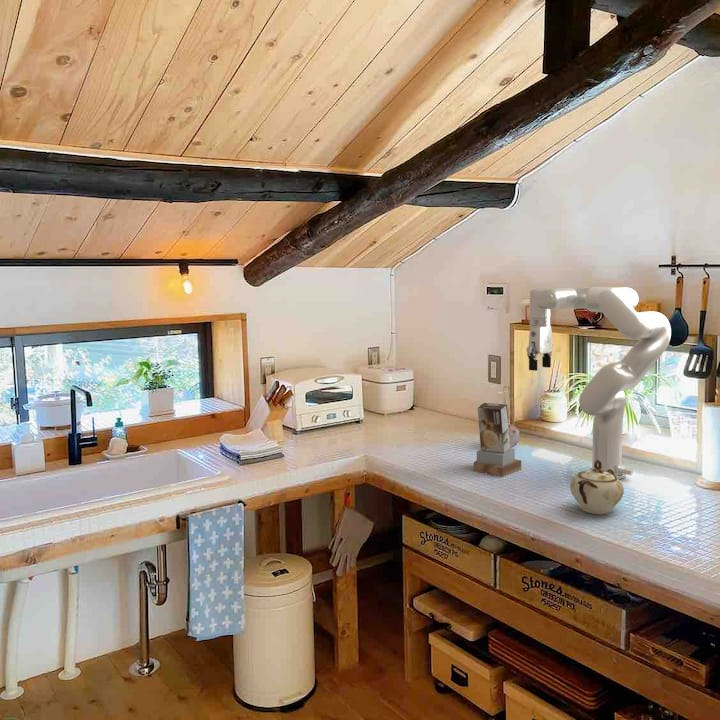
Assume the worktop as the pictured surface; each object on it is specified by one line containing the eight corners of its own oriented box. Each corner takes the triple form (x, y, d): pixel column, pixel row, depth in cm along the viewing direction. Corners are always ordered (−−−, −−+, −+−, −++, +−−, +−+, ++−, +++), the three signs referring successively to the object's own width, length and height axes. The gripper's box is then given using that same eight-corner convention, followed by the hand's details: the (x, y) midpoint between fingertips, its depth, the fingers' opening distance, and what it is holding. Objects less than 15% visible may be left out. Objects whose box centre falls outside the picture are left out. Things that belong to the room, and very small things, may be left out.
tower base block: (521, 471, 253) (521, 460, 252) (502, 479, 245) (502, 467, 244) (493, 465, 261) (493, 454, 261) (473, 472, 253) (473, 461, 252)
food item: (503, 442, 293) (503, 419, 292) (521, 445, 288) (521, 421, 287) (486, 449, 283) (486, 425, 282) (504, 452, 278) (504, 427, 277)
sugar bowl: (589, 496, 222) (589, 449, 220) (635, 506, 212) (637, 457, 210) (556, 512, 209) (557, 463, 207) (604, 524, 198) (605, 472, 196)
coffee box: (511, 447, 252) (508, 404, 249) (504, 453, 247) (501, 409, 244) (487, 444, 257) (484, 402, 254) (479, 450, 252) (476, 407, 249)
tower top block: (514, 459, 254) (514, 448, 253) (502, 466, 246) (502, 455, 245) (489, 455, 260) (489, 445, 259) (476, 462, 252) (476, 451, 251)
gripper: (537, 324, 251) (537, 372, 253) (561, 321, 263) (560, 366, 265) (518, 323, 256) (518, 370, 258) (542, 320, 268) (542, 365, 270)
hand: (539, 368), depth 262 cm, fingers open, 9 cm apart
